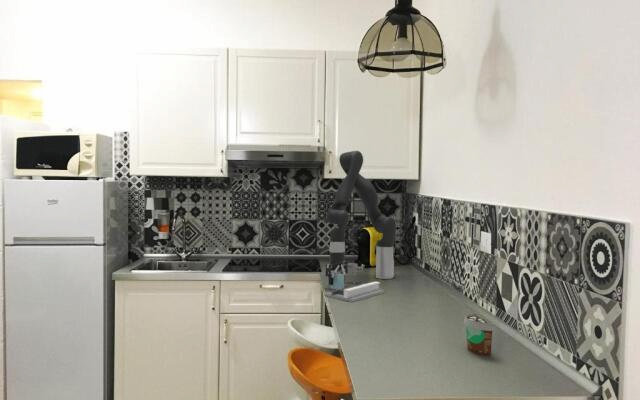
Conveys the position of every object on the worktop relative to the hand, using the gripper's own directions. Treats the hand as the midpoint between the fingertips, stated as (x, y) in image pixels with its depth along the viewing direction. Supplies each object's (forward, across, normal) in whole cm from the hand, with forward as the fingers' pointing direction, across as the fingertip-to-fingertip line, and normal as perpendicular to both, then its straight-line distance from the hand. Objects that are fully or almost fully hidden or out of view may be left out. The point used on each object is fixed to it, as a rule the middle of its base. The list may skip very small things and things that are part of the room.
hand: (336, 283), depth 227 cm
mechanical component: (+2, -15, -1) cm, 15 cm away
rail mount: (+2, +4, +14) cm, 15 cm away
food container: (+3, +36, +85) cm, 92 cm away
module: (+2, 0, 0) cm, 2 cm away
